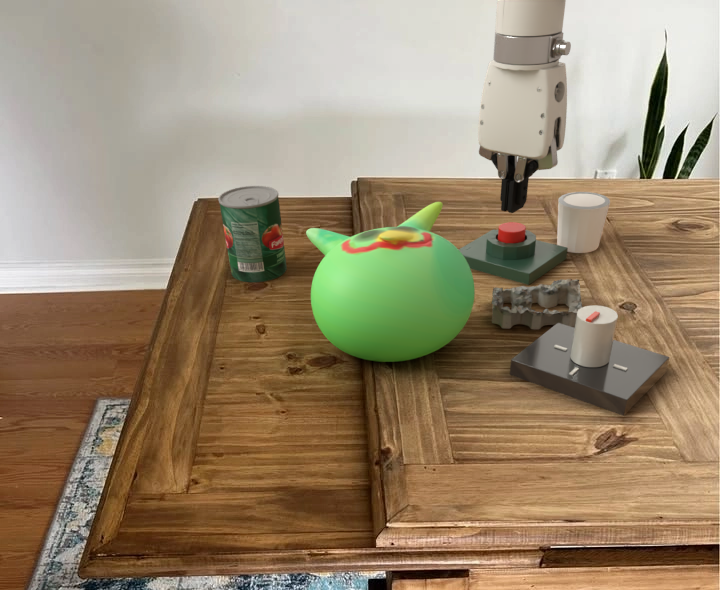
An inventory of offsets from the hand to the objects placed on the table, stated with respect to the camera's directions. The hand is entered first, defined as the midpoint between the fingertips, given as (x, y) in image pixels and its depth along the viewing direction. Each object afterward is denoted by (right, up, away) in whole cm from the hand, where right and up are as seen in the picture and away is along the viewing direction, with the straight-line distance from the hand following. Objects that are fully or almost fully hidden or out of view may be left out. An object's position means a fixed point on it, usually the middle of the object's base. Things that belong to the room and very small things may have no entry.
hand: (512, 208), depth 96 cm
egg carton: (+1, -17, -7) cm, 18 cm away
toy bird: (-16, -20, -11) cm, 28 cm away
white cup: (+11, -3, +8) cm, 14 cm away
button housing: (+1, -6, +5) cm, 8 cm away
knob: (+4, -23, -19) cm, 30 cm away
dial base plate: (+4, -25, -18) cm, 31 cm away
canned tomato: (-34, -7, +7) cm, 36 cm away
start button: (0, -3, +3) cm, 4 cm away
